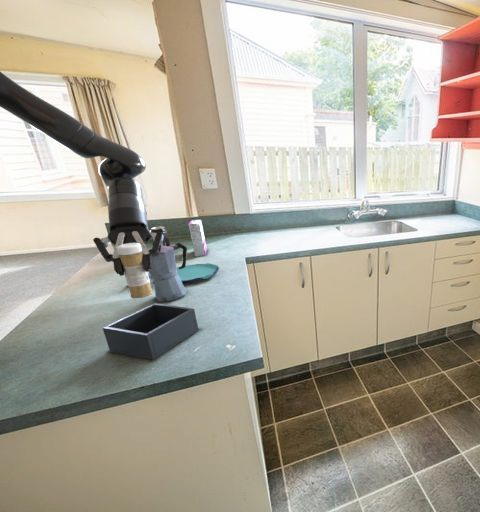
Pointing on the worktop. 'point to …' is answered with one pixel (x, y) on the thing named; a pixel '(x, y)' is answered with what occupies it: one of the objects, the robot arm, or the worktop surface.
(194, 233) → the candy bar box
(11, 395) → the worktop surface
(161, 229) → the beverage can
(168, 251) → the moka pot
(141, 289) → the sprinkles bottle
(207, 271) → the teal oval tray
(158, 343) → the open box
